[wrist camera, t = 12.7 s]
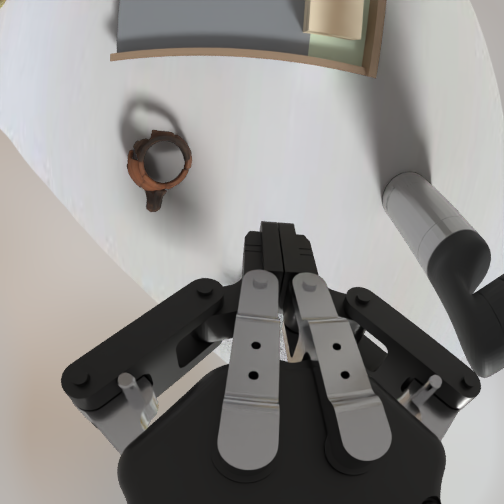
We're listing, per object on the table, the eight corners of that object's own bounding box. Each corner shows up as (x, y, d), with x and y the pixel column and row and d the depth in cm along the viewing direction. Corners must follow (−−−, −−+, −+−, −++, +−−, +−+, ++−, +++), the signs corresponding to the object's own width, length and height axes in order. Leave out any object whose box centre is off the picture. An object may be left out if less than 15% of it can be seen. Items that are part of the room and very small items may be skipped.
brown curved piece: (124, 132, 41) (129, 130, 34) (183, 129, 45) (199, 128, 38) (126, 208, 45) (132, 221, 39) (183, 202, 50) (198, 214, 43)
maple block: (353, -1, 26) (364, -6, 22) (350, 40, 29) (360, 39, 26) (305, -10, 26) (311, -16, 22) (302, 32, 29) (308, 30, 26)
